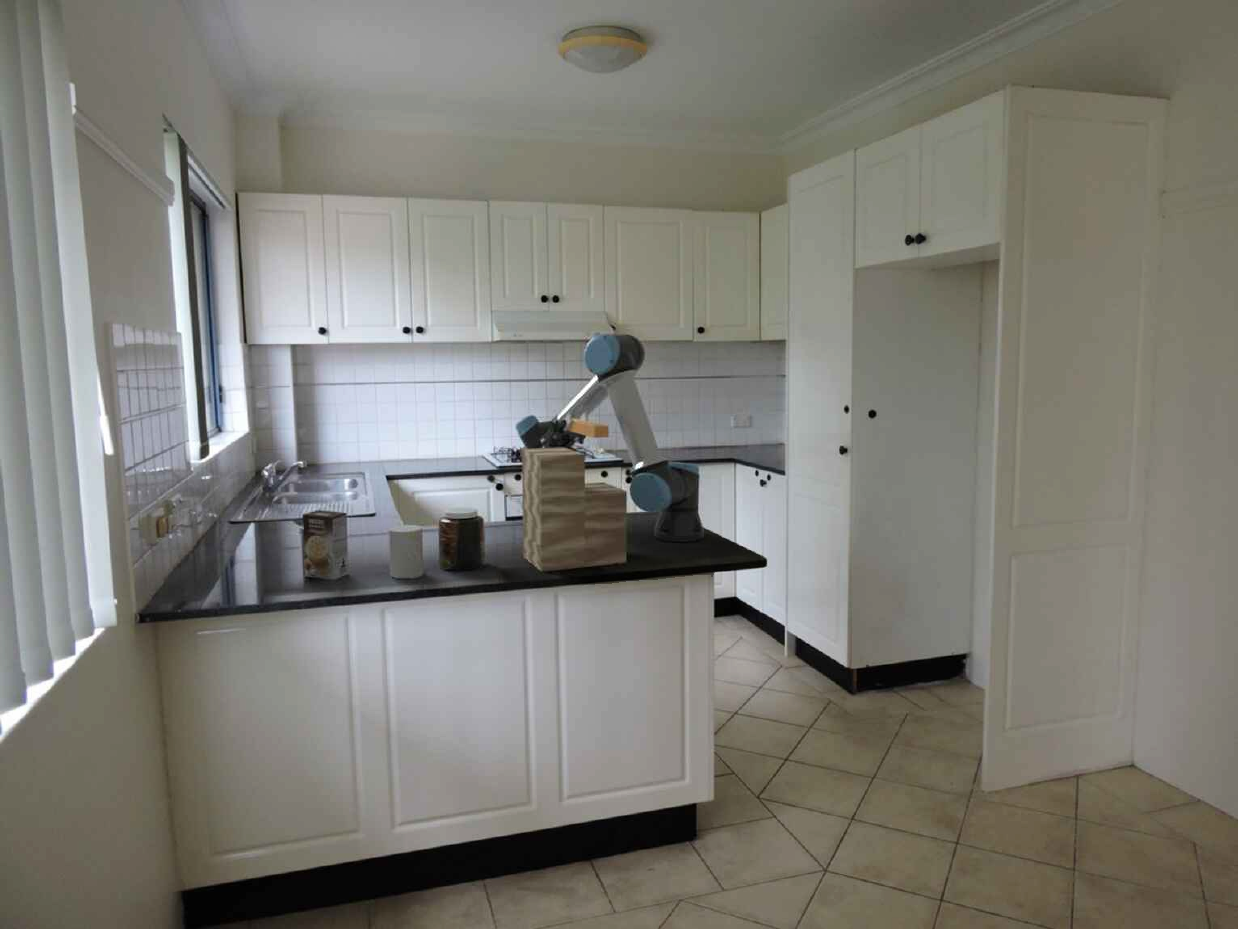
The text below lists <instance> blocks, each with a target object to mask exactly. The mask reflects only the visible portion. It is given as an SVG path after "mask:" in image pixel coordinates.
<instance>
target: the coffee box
mask: <svg viewBox="0 0 1238 929" xmlns="http://www.w3.org/2000/svg"><path fill="white" fill-rule="evenodd" d="M347 516H348V514H347V512H341V511H340V512H339V511H331V510H322V509H316V510H314V511H310V512H307V513H303V514H302V532H303V533H302V535H303V557H304V559H303V560H304V576H305V577H307V578H308V577H309V578H315V579H316V578H317V579H324V580H332V581H334V580H337V579H340V578H342V577H345V576H347V575H349V554H348V553H349V550H348V521H347V520H348V519H347V518H348V517H347Z"/></svg>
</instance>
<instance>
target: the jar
mask: <svg viewBox="0 0 1238 929" xmlns="http://www.w3.org/2000/svg"><path fill="white" fill-rule="evenodd" d="M437 530H438V531H437V532H438V565H439V569H441V570H444V571H448V572H467V571H468V572H469V570H470V571H474V570H473V569H476V570H478V569H477V568H479V569H481V568H480V567H482V568H483V567H485V566H486V531H485V519H484V517H483V516H481V515H479V513H478V509H477V508H474V507H453V508H448V509H445V510H444V516H443V517H440V518H439V519H438V528H437ZM484 565H485V566H484Z"/></svg>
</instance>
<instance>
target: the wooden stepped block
mask: <svg viewBox="0 0 1238 929" xmlns="http://www.w3.org/2000/svg"><path fill="white" fill-rule="evenodd" d="M585 456H586V455H585V453H582V452H578V451H575V450H573V449H567V448H564V447H557V448H535V449H526V448H520V457H521V463H522V464H521V467H522V468H521V470H522V472H521V475H522V477H521V478H522V480H521V482H522V549H523V550H522V551H523V552H522V557H524V558H523V559H524V560H526V559H527V560H528V561H527V560H526V561H527V562H529V563H530V564H531V563H532V564H533V567H535V568H536V567H537V568H536V569H538V570H539V571H540V572H541V571H542V572H548V571H549V572H550V571H561V570H568V569H569V570H571V569H578V568H587V567H588V568H589V567H595V566H596V567H598V566H606V565H615V563H618V564H625V563H627V523H628V522H627V520H628V519H627V516H628V515H627V514H628V512H627V510H628V508H627V506H628V504H627V502H628V499H627V498H628V496H627V495H628V494H627V492H628V491H626V490H624V489H621V488H619V487H616V486H614V485H612V484H609V483H606V482H592V483H591V482H589V483H586V481H585V480H586V478H585V477H586V461H585V460H586V457H585ZM532 564H531V565H532Z"/></svg>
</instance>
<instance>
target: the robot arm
mask: <svg viewBox="0 0 1238 929" xmlns="http://www.w3.org/2000/svg"><path fill="white" fill-rule="evenodd" d="M645 356H646V352H645V347H644V345H643V343H642V342H641V341H640V339H638V338H637V337H636V336H634V335H631V334H626V333H624V334H623V333H621V334H618V333H617V334H616V333H608V332H607V333H604V334H603V333H602V334H597V335H595V336H594V337H593V336H592V338H591V339H589V341H588V342H587V344H586V347H585V349H584V350H583V360H584V361H583V362H584V365H585V367H586V369H587V371H589V372H590V373H591V374H593V375H594V376H593V377H592V378H591V379H590V380H589V381H588V382H587V383H586V384H585V385H584V386H583V387H582V388H581V389H580V390H579V391H578V392H577V393H576V394H575V395H574V396H573V397H572V398H571V400H570V401H569V402H568V403H566V404H565V405H564V407H563V408H562V409H561V410H560V411H559V412H558V413H557V414H556V415H555V416H554V417H553V418H552V419H551V420H549V421H540V420H539V419H538V418H537V416H535V415H533V414H530V415H527V416H525V417H523V418H522V419H521V418H520V420H518V421H517V423H516V424H515V430H516V432H517V433H518V437H519V438H520V440H521V442H522V443H523V445H524V447H525V449H535V448H557V447H564V448H567V449H570V450H572V448H571V447H573V446H574V445H575V444H576V443H578V444H579V445H583V444H584V440H585V439H586V437H587V436H586V435H582V434H579V433H575V432H571V431H568V430H567V429H568V427H569V426H570V425H571V423H572V422H573V419H572V418H576V419H580V420H585V421H589V416H590V414H592V412H593V411H595V410H596V408H598V407H599V406H600V405H601V404H602V403H603V402H604V401H605V400H606V399H607V398H608V397H609V399H610V403H611V406H612V408H613V411H614V414H615V416H616V419H617V422H618V425H619V428H620V431H621V434H622V437H623V439H624V443H625V446H626V449H627V452H628V454H629V457H630V458H629V459H630V460H631V463H632V467H631V469H630V471H629V473H630V476H631V479H632V480H631V481H630V485H629V495H630V499H631V500H632V502H633V503H634V505H635V506H636V507H637V508H638V509H640V510H642V511H644V512H648V513H654V512H655V513H656V512H657V513H659V515H658V518H657V519H656V520H657V521H656V523H655V526H654V529H653V530H654V531H653V533H654V537H655V539H658V540H662V541H665V542H675V543H680V542H681V543H684V542H685V543H686V542H687V543H689V542H696V541H701V540H703V539H704V537H705V532H704V526H703V523H702V519H701V517H700V513H699V504H700V503H699V501H700V500H699V499H700V498H699V497H700V496H699V495H700V476H701V475H700V469H699V466H698V464H696V463H689V462H688V463H687V462H678V461H677V462H676V461H669V459H668V458H667V457H664V456H662V455H661V452H660V449H659V446H658V444H657V440H656V438H655V435H654V433H653V429H652V426H651V424H650V421H649V418H648V415H647V412H646V410H645V406H644V404H643V401H642V398H641V395H640V393H639V389H638V387H637V383H636V380H635V378H636V375H637V372H638V371H639V370H640V369H641V368H642V366H643V365H644V364H643V363H644V361H645V358H646V357H645ZM562 419H564V420H562ZM589 422H590V421H589Z"/></svg>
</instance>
